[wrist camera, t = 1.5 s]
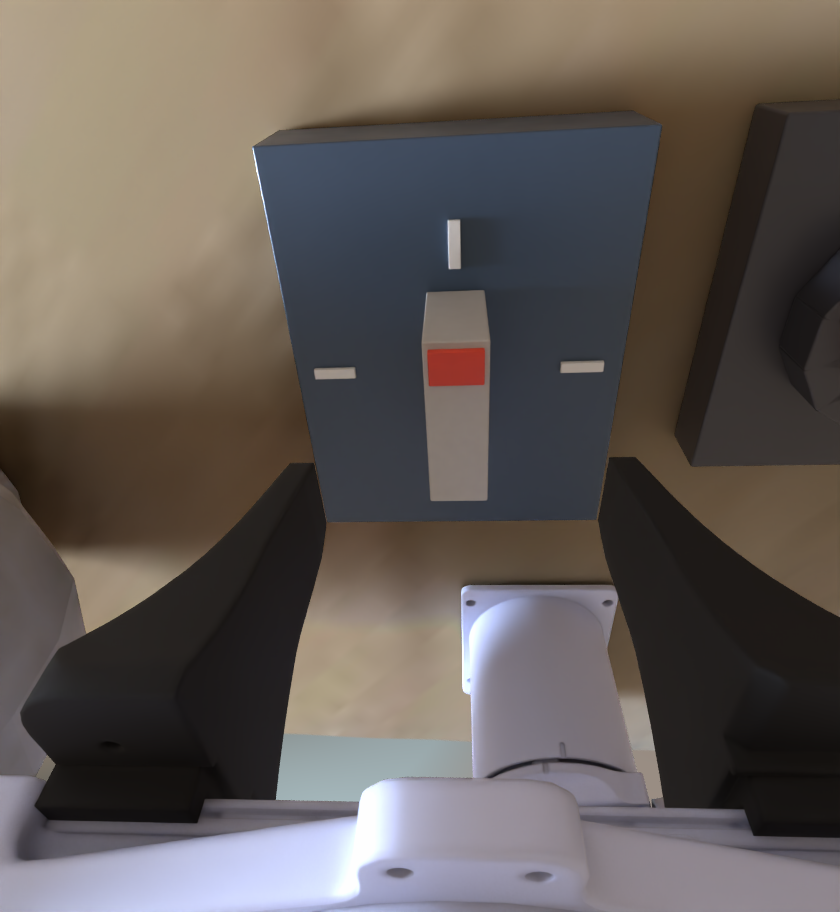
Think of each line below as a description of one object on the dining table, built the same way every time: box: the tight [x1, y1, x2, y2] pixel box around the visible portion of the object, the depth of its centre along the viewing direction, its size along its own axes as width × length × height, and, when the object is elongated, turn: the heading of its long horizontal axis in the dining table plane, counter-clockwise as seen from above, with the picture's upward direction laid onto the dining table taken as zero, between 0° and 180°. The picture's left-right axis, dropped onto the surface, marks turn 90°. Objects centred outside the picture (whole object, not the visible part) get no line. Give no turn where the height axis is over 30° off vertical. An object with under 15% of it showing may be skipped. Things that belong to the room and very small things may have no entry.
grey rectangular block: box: [421, 290, 490, 501], centre depth 18 cm, size 6×2×4 cm, turn 3°
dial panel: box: [252, 111, 662, 522], centre depth 21 cm, size 14×11×3 cm
